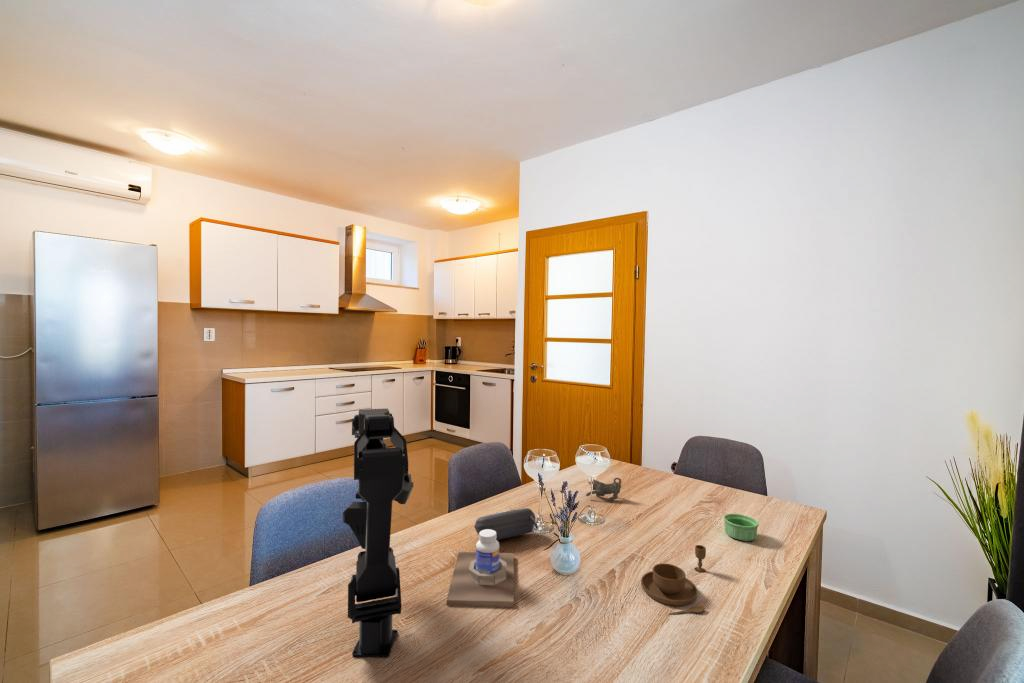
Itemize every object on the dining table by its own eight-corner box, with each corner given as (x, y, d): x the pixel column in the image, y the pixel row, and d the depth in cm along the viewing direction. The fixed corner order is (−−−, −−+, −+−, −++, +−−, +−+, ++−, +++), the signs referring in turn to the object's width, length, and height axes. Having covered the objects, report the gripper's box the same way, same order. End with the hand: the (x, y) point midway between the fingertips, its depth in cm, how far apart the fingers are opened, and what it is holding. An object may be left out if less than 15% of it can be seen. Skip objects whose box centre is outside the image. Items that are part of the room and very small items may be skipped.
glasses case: (525, 526, 130) (525, 500, 130) (543, 542, 121) (544, 513, 120) (468, 538, 122) (468, 510, 121) (483, 556, 112) (484, 526, 112)
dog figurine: (620, 496, 156) (620, 475, 155) (621, 502, 150) (622, 480, 150) (585, 493, 157) (586, 473, 157) (585, 499, 152) (586, 478, 152)
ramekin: (727, 539, 124) (727, 524, 124) (720, 526, 133) (720, 511, 133) (762, 544, 122) (762, 528, 122) (752, 530, 130) (753, 515, 130)
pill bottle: (495, 582, 98) (496, 539, 98) (472, 579, 99) (473, 536, 99) (501, 569, 104) (502, 529, 103) (479, 566, 105) (480, 526, 104)
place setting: (626, 573, 107) (626, 549, 106) (700, 566, 110) (700, 543, 110) (664, 619, 89) (665, 591, 89) (750, 609, 93) (751, 582, 93)
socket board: (513, 607, 92) (513, 592, 92) (446, 605, 92) (446, 590, 92) (513, 557, 112) (513, 545, 112) (458, 556, 112) (458, 544, 112)
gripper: (398, 482, 86) (397, 561, 86) (419, 455, 104) (418, 520, 105) (341, 481, 86) (341, 560, 86) (372, 454, 104) (371, 519, 105)
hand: (372, 538), depth 95 cm, fingers open, 9 cm apart
